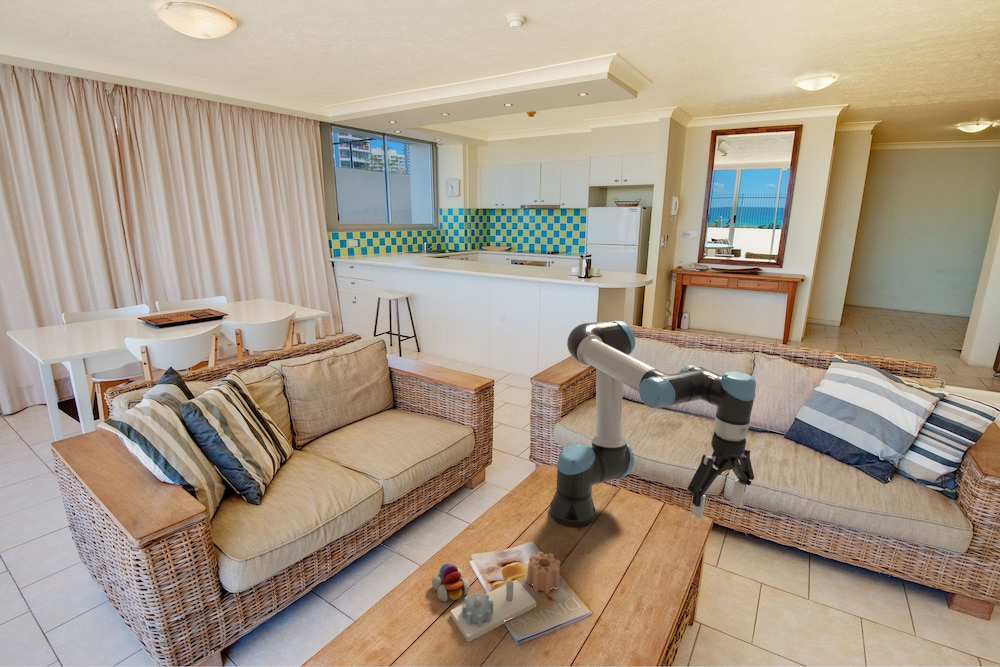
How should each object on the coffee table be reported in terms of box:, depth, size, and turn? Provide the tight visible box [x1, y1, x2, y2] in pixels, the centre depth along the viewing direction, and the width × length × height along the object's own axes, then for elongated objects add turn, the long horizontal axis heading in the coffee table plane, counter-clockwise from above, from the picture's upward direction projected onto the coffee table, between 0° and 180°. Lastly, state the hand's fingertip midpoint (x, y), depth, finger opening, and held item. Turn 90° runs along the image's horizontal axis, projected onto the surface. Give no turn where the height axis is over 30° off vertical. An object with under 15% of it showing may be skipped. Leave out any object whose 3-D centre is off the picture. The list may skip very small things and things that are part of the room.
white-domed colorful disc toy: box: [431, 562, 471, 602], centre depth 126 cm, size 8×10×7 cm
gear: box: [527, 551, 561, 594], centre depth 130 cm, size 8×8×6 cm
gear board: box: [449, 579, 537, 643], centre depth 120 cm, size 9×20×6 cm, turn 123°
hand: (717, 510), depth 122 cm, fingers open, 13 cm apart
